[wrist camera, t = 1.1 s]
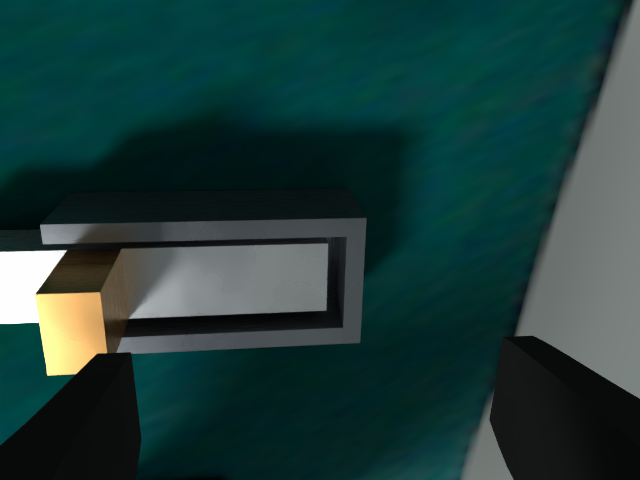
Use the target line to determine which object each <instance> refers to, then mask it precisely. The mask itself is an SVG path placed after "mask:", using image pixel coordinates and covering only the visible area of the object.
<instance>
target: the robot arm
mask: <svg viewBox="0 0 640 480" xmlns="http://www.w3.org/2000/svg"><path fill="white" fill-rule="evenodd" d="M490 423H491V425H492V428H493V431H494V434H495V437H496V439H497V442H498V445H499V448H500V450H501V453H502V455H503V458H504V460H505V463H506V465H507V467H508V469H509V471H510V473H511V475H512V477H513V479H514V480H640V399H639V398H637V397H636V396H634V395H632V394H630V393H629V392H627V391H626V390H624V389H622V388H620V387H619V386H617V385H615V384H614V383H612V382H610V381H609V380H607V379H606V378H604V377H602V376H601V375H599V374H597V373H596V372H594V371H592V370H591V369H589V368H588V367H586V366H584V365H583V364H581V363H579V362H578V361H576V360H574V359H573V358H571V357H570V356H568V355H566V354H565V353H563V352H561V351H560V350H558V349H556V348H554V347H553V346H551V345H549V344H547V343H546V342H544V341H542V340H540V339H538V338H536V337H534V336H517V337H503V343H502V349H501V355H500V361H499V367H498V373H497V379H496V384H495V390H494V396H493V402H492V408H491V414H490ZM140 446H141V432H140V423H139V415H138V407H137V398H136V390H135V382H134V373H133V365H132V356H131V352H122V353H97V354H96V355H95V356H94V357H93V358H92V359H91V360H90V361H89V362H88V363H87V364H86V365H85V366H84V367H83V368H82V369H81V370H80V371H79V372H78V373H77V374H76V375H75V376H74V377H73V378H72V379H71V380H70V381H69V382H68V383H67V384H66V385H65V386H64V387H63V388H62V389H61V390H60V391H59V392H58V393H57V394H56V395H55V396H54V397H53V398H52V399H51V400H50V401H49V402H48V403H46V404H45V405H44V406H43V407H42V408H41V409H40V410H39V411H38V412H37V413H36V414H35V415H34V416H33V417H32V418H31V419H30V420H29V421H28V422H27V423H26V424H24V425H23V426H22V427H21V428H20V429H19V430H18V431H17V432H15V433H14V434H13V435H12V436H11V437H10V438H8V439H7V440H6V441H5V442H4V443H3V444H2V445H0V480H135V479H136V473H137V467H138V460H139V453H140Z"/></svg>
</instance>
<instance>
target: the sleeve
mask: <svg viewBox="0 0 640 480" xmlns="http://www.w3.org/2000/svg"><path fill="white" fill-rule="evenodd" d="M366 220H367V218H366V216H365V215H364V213H363V212H362V210H361V209H360V207H359V205H358V204H357V202H356V201H355V199H354V198H353V196H352V195H351V193H350V192H349V190H348V189H280V190H210V191H139V192H70V193H69V195H68V196H67V197H66V198H65V199H64V200H63V201H62V202H61V203H60V204H59V205H58V206H57V207H56V208H55V209H54V210H53V211H52V213H51V214H50V215H49V216H48V217H47V218H46V219H45V220H44V221H43V222H42V223H41V224H40V229H41V236H42V242H43V244H73V243H113V242H153V241H194V240H234V239H274V238H315V237H326V239H327V242H328V269H327V304H326V311H304V312H279V313H255V314H230V315H206V316H181V317H157V318H132V319H128V322H127V325H126V328H125V330H124V333H123V336H122V339H121V342H120V344H119V347H118V350H117V353H122V352H131V354H139V353H160V352H181V351H201V350H222V349H243V348H263V347H284V346H305V345H326V344H346V343H360V337H361V317H362V298H363V278H364V259H365V239H366Z"/></svg>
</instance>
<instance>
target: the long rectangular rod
mask: <svg viewBox="0 0 640 480" xmlns="http://www.w3.org/2000/svg"><path fill="white" fill-rule="evenodd" d="M327 269H328V242H327V239H326V237H315V238H274V239H234V240H194V241H153V242H113V243H73V244H43V242H42V236H41V229H37V230H0V324H10V323H34V322H39V324H40V330H41V336H42V343H43V349H44V355H45V361H46V367H47V374H48V375H66V374H77V373H78V372H79V371H80V370H81V369H82V368H83V367H84V366H85V365H86V364H87V363H88V362H89V361H90V360H91V359H92V358H93V357H94V356H95V355H96V354H97V353H117V350H118V347H119V344H120V342H121V339H122V336H123V333H124V330H125V328H126V325H127V322H128V319H132V318H157V317H181V316H206V315H230V314H255V313H279V312H304V311H326V304H327Z"/></svg>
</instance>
